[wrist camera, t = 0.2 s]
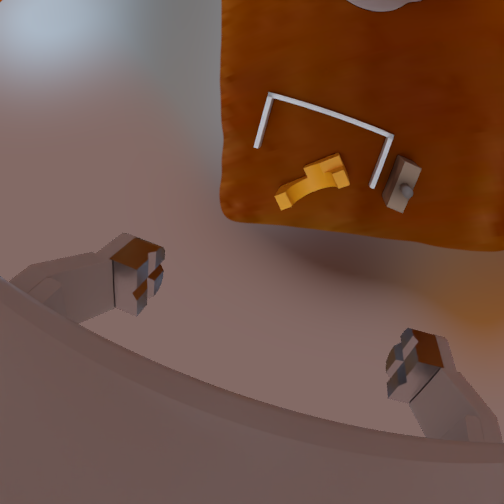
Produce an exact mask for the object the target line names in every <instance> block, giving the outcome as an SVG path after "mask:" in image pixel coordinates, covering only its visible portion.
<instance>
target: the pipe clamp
mask: <svg viewBox="0 0 504 504" xmlns="http://www.w3.org/2000/svg"><path fill="white" fill-rule="evenodd" d="M304 171H305V173H306V175H307V176H304V177H302V178H299V179H297V180H294V181H292V182H289V183H287V184H284V185H282V186H280V188H279V190H278V191H277V193H276V195H275V198H276V201H277V203H278V205H279V207H280V209H281V210H284V209H286V208H289V207H291V206H292V205H293V204H294V203H295V202H296V201H297V200H299V199H300V198H302V197H303V196H305V195H307V194H309V193H311V192H314V191H316V190H319V189H322V188H326V187H332V186H334V187H338V189H340V188H342V187H345V186H348V185H350V182H349V177H348V173H347V171H346V168H345V166H344V164H343V161H342V159H341V157H340V154H339V153H336V154H333V155H331V156H328V157H326V158H323V159H320V160H318V161H315V162H313V163H310V164H308V165H305V166H304Z"/></svg>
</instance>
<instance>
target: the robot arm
mask: <svg viewBox="0 0 504 504" xmlns="http://www.w3.org/2000/svg"><path fill="white" fill-rule="evenodd" d="M347 1H349V2H350V3H352V4H354V5H356V6H358V7H361V8H363V9H367V10H371V11H379V12H383V11H391V10H395V9H397V8H400V7H401V6H403V5H405V4H406V3H409V2H417V1H422V0H347ZM164 259H165V249H164V248H163V247H162V246H159V245H156V244H154V243H151V242H149V241H146V240H143V239H141V238H137V237H135V236H133V235H130V234H127V233H122V234H120V235H119V236H118V237H116V238H115V239H114V240H112V241H111V242H110V243H109V244H107V245H106V246H105V247H103V248H102V249H101V250H100V251H98V252H97V253H93V252H90V253H85V254H80V255H75V256H70V257H65V258H60V259H56V260H51V261H46V262H42V263H37V264H32V265H30V266H28V267H27V268H26V269H24V270H23V271H22V272H20V273H19V274H18V275H16V276H15V277H14V278H13V279H11V280H10V281H9V282H8V281H6V280H5V279H4V278H2V277H1V276H0V504H504V443H503V441H502V436H501V432H500V428H499V424H498V420H497V417H496V416H495V414H494V413H493V412H492V411H491V409H490V408H489V407H488V406H487V404H486V403H485V402H484V401H483V399H482V398H481V397H480V396H479V395H478V393H477V392H476V391H475V390H474V389H473V387H472V386H471V385H470V384H469V383H468V381H467V380H466V379H465V378H464V377H463V376H462V374H461V373H460V372H457V371H456V368H455V364H454V361H453V357H452V354H451V350H450V347H449V344H448V341H447V339H446V338H445V337H442V336H437V335H434V334H433V335H432V334H428V333H425V332H422V331H418V330H414V329H411V328H407V329H406V330H405V331H404V332H403V333H402V335H401V336H400V337H401V343H399V344H397V345H395V346H394V347H393V348H392V350H391V351H390V353H389V355H388V358H387V361H386V373H387V374H388V376H389V377H390V380H389V381H388V382H387V392H388V399H392V400H396V401H400V402H405V403H409V406H410V408H411V410H412V412H413V413H414V415H415V417H416V419H417V421H418V423H419V425H420V427H421V429H422V431H423V433H424V435H425V436H426V437H417V436H410V435H403V434H396V433H390V432H384V431H378V430H373V429H368V428H363V427H358V426H353V425H348V424H344V423H339V422H335V421H330V420H326V419H322V418H318V417H314V416H311V415H307V414H303V413H299V412H296V411H292V410H288V409H285V408H281V407H278V406H274V405H271V404H268V403H264V402H262V401H258V400H255V399H252V398H248V397H246V396H243V395H240V394H237V393H234V392H231V391H228V390H225V389H222V388H220V387H217V386H214V385H211V384H209V383H206V382H204V381H201V380H198V379H196V378H193V377H190V376H188V375H186V374H183V373H181V372H178V371H176V370H173V369H171V368H169V367H166V366H164V365H162V364H159V363H157V362H155V361H152V360H150V359H148V358H146V357H143V356H141V355H139V354H137V353H135V352H133V351H130V350H128V349H126V348H124V347H122V346H120V345H118V344H116V343H114V342H112V341H110V340H108V339H105V338H104V337H102V336H100V335H98V334H96V333H94V332H92V331H90V330H88V329H86V328H85V327H83V326H81V325H79V323H81V322H84V321H86V320H88V319H91V318H93V317H95V316H98V315H100V314H103V313H105V312H107V311H110V310H112V309H114V307H115V308H118V309H120V310H122V311H125V312H127V313H130V314H132V315H135V316H138V314H139V313H140V312H141V311H142V310H143V309H144V307H145V306H146V305H147V298H150V297H153V296H154V295H155V294H156V293H157V291H158V290H159V288H160V285H161V283H162V279H163V272H164V271H163V269H162V266H161V265H160V264H161V262H162V261H163V260H164Z"/></svg>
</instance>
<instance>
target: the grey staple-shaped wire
mask: <svg viewBox="0 0 504 504" xmlns="http://www.w3.org/2000/svg"><path fill="white" fill-rule="evenodd" d="M274 98H275V99H279V100H282V101H286V102H289V103H292V104H296V105H299V106H302V107H306V108H309V109H312V110H315V111H318V112H321V113H324V114H327V115H330V116H333V117H336V118H339V119H341V120H344V121H347V122H350V123H352V124H355V125H358V126H360V127H363V128H366V129H368V130H371V131H373V132H376V133H378V134H381V135H383V136H385V137H386V139H385V142H384V145H383V147H382V150H381V153H380V156H379V158H378V161H377V164H376V166H375V169H374V172H373V174H372V177H371V179H370V182H369V187H370V188H373V189H374V188H375V185H376V183H377V180H378V178H379V175H380V172H381V170H382V167H383V165H384V162H385V159H386V157H387V154H388V151H389V149H390V146H391V143H392V140H393V137H394V135H393V134H391V133H389V132H387V131H384V130H382V129H379V128H377V127H374V126H372V125H369V124H367V123H364V122H362V121H359V120H356V119H354V118H351V117H348V116H346V115H343V114H340V113H337V112H334V111H331V110H328V109H325V108H322V107H319V106H316V105H313V104H310V103H307V102H304V101H300V100H297V99H294V98H290V97H287V96H283V95H280V94H276V93H272V92H268V96H267V100H266V103H265V107H264V111H263V114H262V118H261V122H260V125H259V129H258V133H257V136H256V140H255V144H254V148H260V147H261V143H262V140H263V136H264V133H265V129H266V125H267V122H268V118H269V114H270V111H271V107H272V104H273V100H274Z"/></svg>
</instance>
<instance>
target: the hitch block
mask: <svg viewBox="0 0 504 504" xmlns="http://www.w3.org/2000/svg"><path fill="white" fill-rule="evenodd" d="M420 171H421V168H420V167H419V166H418V165H417V164H416V163H414V162H413V161H411V160H409V159H407V158H405V157H403V156H400V155H398V156H397V158H396V161H395V163H394V166H393V169H392V171H391V174H390V176H389V179H388V181H387V184H386V186H385V189H384V191H383V194H382V197H383V199H384V202H385V204H386V206H387V207H389V208H391V209H394V210H396V211H399V212H401V213H403V211H404V209H405V207H406V205H407V202H408V200H409V198H411V197H412V196H413V188H414V186H415V184H416V181H417V179H418V176H419V174H420Z"/></svg>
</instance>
